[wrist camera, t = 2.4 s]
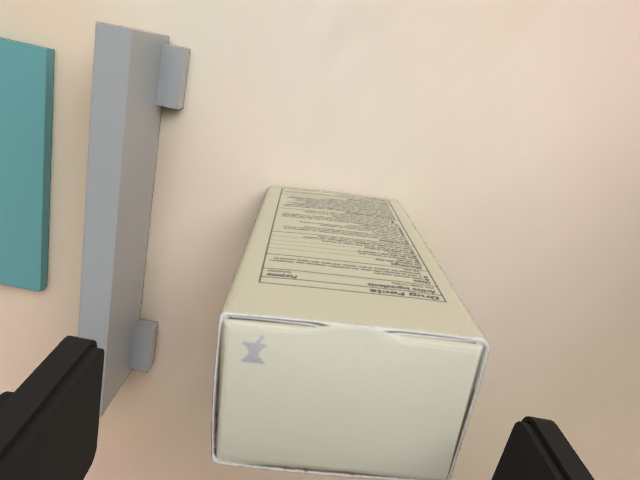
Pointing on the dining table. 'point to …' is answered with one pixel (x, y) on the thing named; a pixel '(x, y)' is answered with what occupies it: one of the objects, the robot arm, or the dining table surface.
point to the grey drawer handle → (123, 192)
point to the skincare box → (343, 345)
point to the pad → (25, 162)
